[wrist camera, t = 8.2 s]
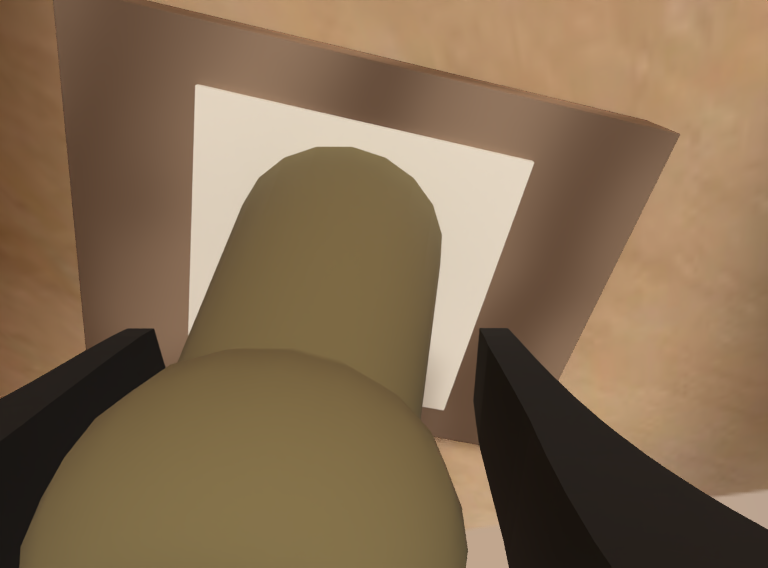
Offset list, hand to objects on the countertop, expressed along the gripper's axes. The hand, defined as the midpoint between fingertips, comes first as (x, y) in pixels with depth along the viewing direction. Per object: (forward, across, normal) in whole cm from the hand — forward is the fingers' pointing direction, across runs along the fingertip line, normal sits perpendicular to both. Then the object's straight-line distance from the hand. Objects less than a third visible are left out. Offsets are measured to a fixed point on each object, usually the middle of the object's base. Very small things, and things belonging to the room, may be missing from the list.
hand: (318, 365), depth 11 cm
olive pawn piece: (+5, 0, -1) cm, 5 cm away
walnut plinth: (+7, 0, 0) cm, 7 cm away
